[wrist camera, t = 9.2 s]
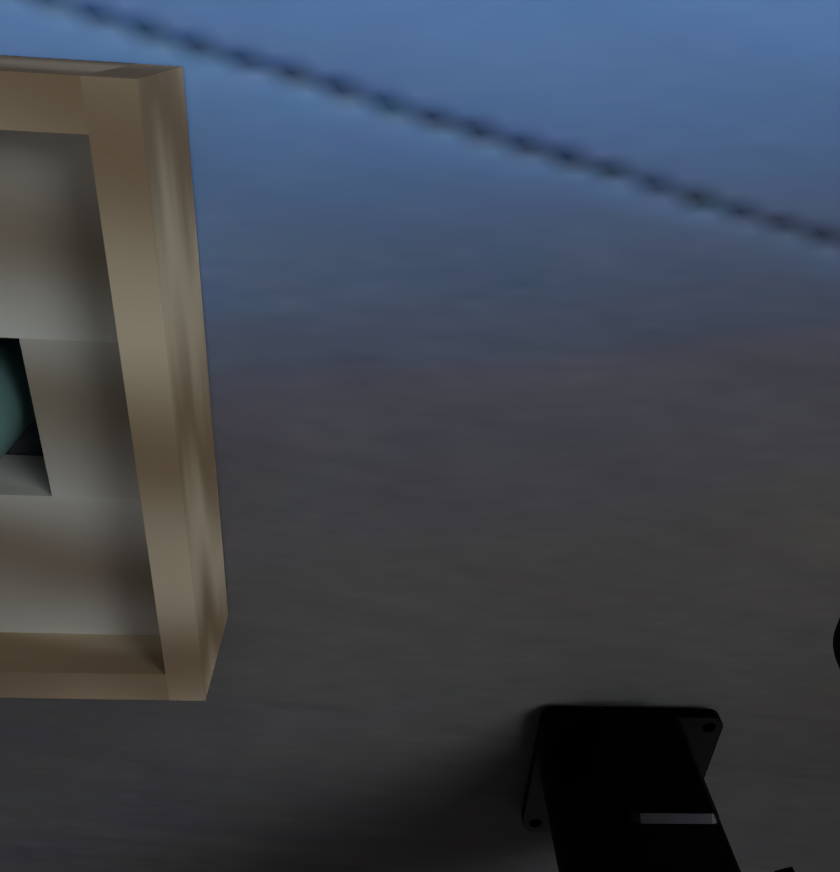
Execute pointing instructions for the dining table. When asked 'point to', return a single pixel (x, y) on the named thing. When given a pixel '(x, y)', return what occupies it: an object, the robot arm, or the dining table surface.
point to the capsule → (13, 395)
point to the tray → (106, 390)
